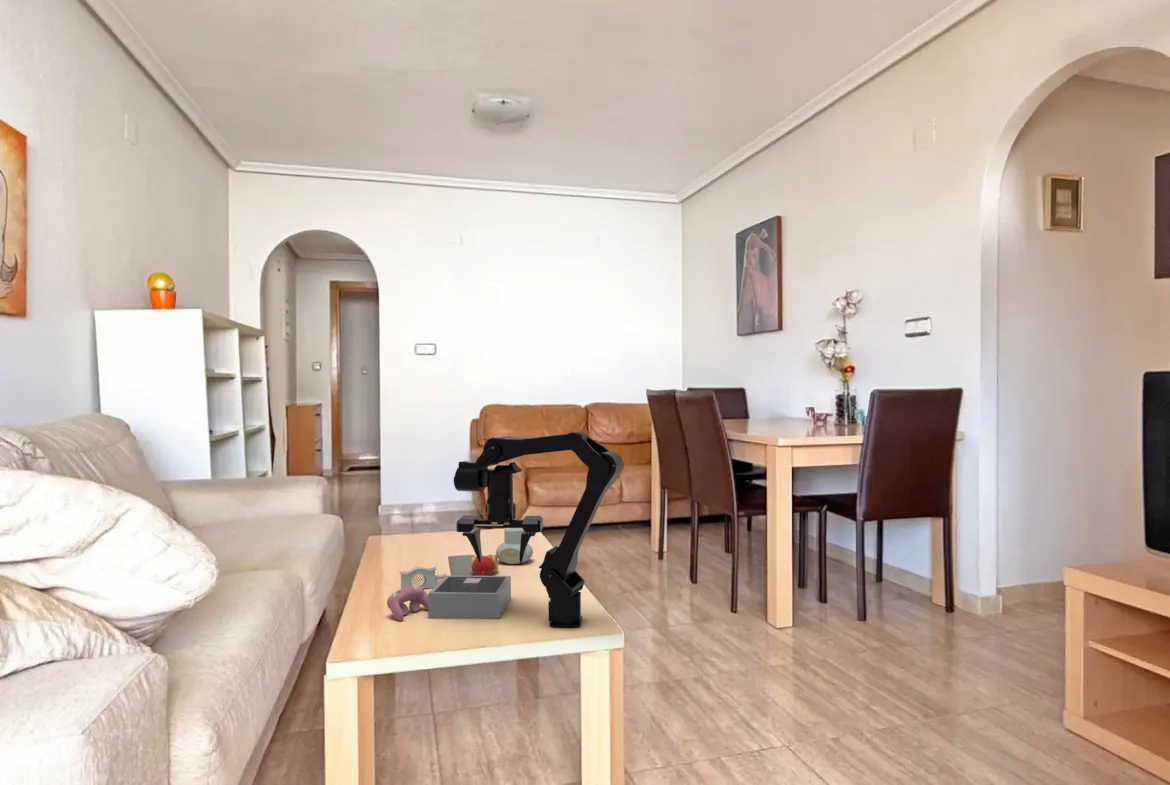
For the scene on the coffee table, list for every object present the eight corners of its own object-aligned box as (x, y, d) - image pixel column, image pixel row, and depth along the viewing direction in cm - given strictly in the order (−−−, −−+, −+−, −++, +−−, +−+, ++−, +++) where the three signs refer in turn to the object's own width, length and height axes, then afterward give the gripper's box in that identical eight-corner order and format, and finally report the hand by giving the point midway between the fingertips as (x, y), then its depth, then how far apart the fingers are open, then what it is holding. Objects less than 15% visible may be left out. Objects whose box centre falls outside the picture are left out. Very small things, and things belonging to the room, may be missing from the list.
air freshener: (535, 559, 203) (535, 526, 204) (529, 566, 195) (529, 531, 195) (500, 558, 205) (500, 525, 205) (492, 565, 197) (492, 531, 197)
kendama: (474, 569, 198) (464, 576, 180) (478, 547, 199) (469, 553, 181) (500, 573, 198) (493, 582, 180) (504, 552, 199) (497, 558, 181)
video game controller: (426, 615, 157) (417, 585, 159) (437, 609, 155) (428, 579, 157) (389, 626, 149) (381, 595, 151) (400, 620, 147) (392, 589, 149)
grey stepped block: (481, 601, 160) (481, 578, 160) (474, 612, 152) (474, 587, 152) (467, 601, 160) (467, 578, 160) (459, 612, 152) (458, 587, 152)
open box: (510, 598, 164) (510, 575, 164) (499, 618, 149) (499, 594, 149) (446, 597, 165) (445, 575, 165) (428, 618, 150) (428, 593, 150)
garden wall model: (445, 584, 177) (444, 562, 177) (447, 586, 175) (447, 563, 175) (399, 591, 171) (399, 568, 171) (401, 593, 169) (401, 569, 169)
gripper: (545, 487, 159) (546, 554, 159) (467, 487, 160) (467, 553, 160) (539, 494, 148) (540, 566, 147) (455, 494, 149) (456, 565, 148)
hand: (500, 562), depth 151 cm, fingers open, 9 cm apart
